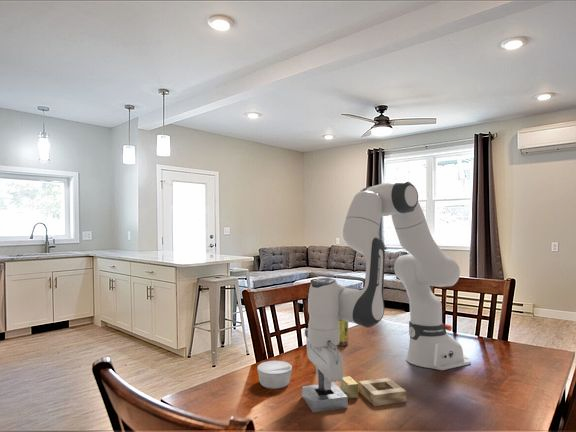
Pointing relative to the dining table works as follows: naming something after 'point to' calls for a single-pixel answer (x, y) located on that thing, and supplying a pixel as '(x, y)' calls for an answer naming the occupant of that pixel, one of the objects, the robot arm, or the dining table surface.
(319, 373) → the dark grey rounded rod
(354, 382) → the bar
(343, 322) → the sauce bottle
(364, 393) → the block
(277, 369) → the ramekin
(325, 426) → the dining table surface
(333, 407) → the socket plate
